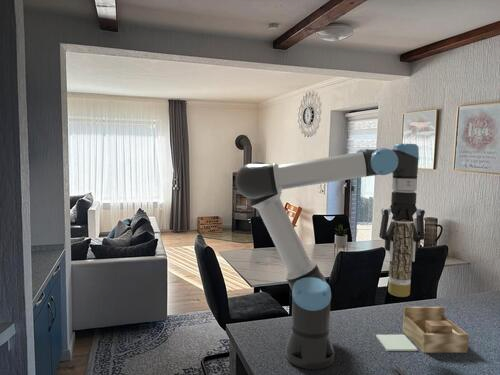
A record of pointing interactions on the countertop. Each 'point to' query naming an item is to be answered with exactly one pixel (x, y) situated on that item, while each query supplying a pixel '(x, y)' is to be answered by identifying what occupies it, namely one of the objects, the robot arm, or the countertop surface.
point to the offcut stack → (439, 327)
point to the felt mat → (396, 343)
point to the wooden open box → (432, 341)
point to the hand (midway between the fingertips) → (400, 260)
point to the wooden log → (401, 258)
